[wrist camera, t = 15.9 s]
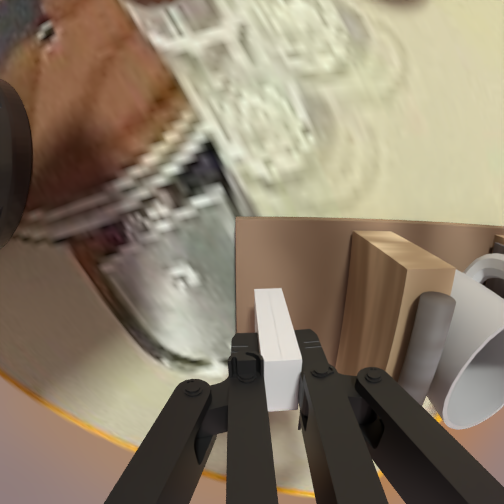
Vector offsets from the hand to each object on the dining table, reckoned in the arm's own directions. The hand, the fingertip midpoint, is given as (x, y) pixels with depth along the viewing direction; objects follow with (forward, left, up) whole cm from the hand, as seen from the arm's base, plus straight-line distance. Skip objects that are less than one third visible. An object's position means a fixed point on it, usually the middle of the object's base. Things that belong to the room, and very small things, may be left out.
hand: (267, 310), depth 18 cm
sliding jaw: (+7, -1, -2) cm, 7 cm away
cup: (+12, 0, -2) cm, 13 cm away
